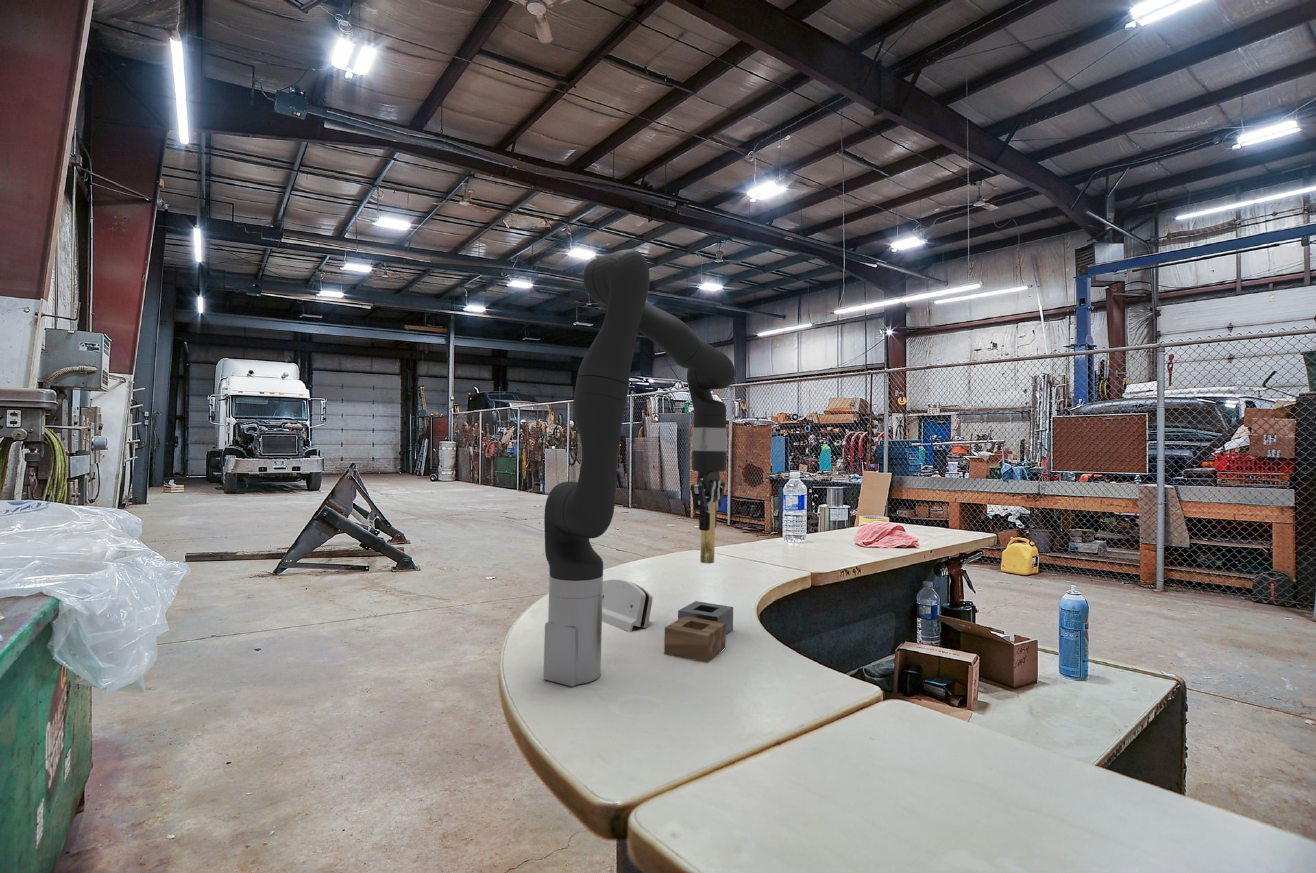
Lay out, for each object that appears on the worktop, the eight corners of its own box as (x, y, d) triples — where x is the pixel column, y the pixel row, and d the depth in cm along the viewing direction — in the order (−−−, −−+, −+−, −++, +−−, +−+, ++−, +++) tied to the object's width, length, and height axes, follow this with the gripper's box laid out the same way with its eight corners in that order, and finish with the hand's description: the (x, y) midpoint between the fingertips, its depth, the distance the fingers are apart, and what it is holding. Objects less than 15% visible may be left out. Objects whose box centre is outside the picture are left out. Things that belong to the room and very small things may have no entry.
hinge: (584, 614, 140) (597, 572, 142) (600, 618, 143) (612, 576, 145) (630, 632, 127) (643, 585, 130) (646, 635, 130) (658, 590, 133)
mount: (707, 662, 111) (707, 635, 111) (664, 653, 115) (664, 627, 115) (725, 648, 119) (725, 623, 119) (684, 640, 123) (684, 616, 123)
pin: (710, 563, 127) (712, 502, 127) (698, 562, 128) (699, 501, 128) (716, 561, 130) (717, 501, 130) (703, 560, 131) (704, 500, 131)
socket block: (717, 641, 123) (717, 617, 123) (677, 634, 127) (678, 610, 127) (732, 629, 131) (733, 606, 131) (695, 623, 135) (695, 601, 135)
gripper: (712, 449, 121) (711, 535, 121) (737, 449, 134) (735, 527, 133) (679, 448, 125) (677, 531, 125) (706, 448, 137) (704, 524, 137)
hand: (707, 528), depth 129 cm, fingers closed on pin, 3 cm apart
